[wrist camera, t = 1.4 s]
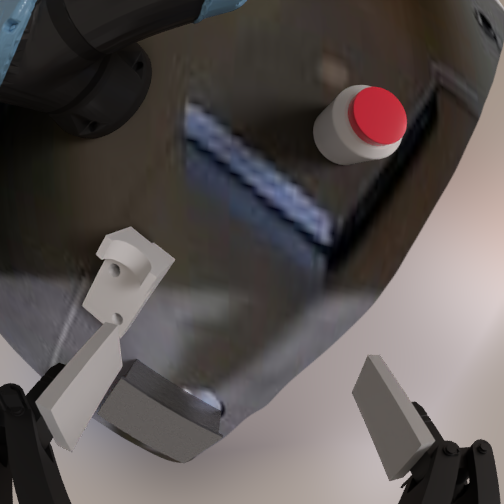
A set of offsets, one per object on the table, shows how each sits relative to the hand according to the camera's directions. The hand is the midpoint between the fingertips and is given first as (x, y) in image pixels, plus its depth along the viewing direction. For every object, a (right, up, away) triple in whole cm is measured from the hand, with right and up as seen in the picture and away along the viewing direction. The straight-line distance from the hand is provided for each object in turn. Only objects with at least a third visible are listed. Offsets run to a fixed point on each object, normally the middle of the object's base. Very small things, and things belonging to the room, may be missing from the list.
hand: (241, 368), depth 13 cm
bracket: (-16, +2, +22) cm, 27 cm away
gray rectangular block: (-14, -20, +26) cm, 36 cm away
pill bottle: (+12, +20, +18) cm, 29 cm away
